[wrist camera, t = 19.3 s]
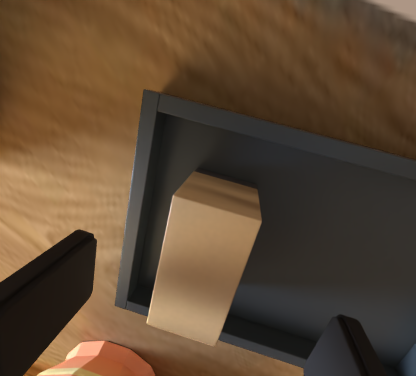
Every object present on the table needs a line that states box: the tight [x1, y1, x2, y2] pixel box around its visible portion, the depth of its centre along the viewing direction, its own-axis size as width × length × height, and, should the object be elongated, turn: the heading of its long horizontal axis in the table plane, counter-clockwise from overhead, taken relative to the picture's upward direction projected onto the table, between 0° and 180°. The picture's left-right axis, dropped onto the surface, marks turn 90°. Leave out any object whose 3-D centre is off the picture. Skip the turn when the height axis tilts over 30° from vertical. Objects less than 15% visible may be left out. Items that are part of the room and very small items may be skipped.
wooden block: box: [147, 168, 262, 347], centre depth 12 cm, size 7×4×4 cm, turn 166°
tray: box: [115, 89, 416, 376], centre depth 13 cm, size 20×14×2 cm
